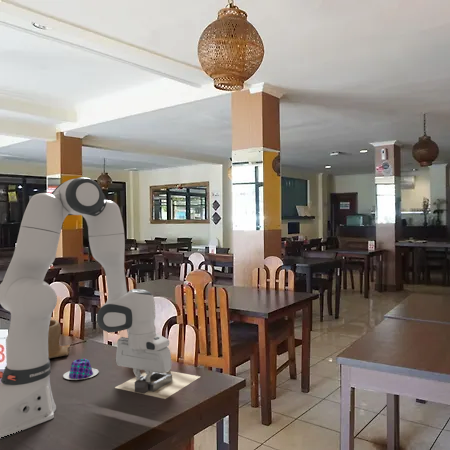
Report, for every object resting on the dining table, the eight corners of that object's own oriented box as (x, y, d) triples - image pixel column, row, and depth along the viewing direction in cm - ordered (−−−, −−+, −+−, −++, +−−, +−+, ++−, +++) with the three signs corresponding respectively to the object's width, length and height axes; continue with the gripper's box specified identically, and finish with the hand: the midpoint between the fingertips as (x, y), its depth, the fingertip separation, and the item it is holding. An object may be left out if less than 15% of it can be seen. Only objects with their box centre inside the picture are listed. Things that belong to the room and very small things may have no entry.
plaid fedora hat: (105, 371, 161) (104, 357, 161) (85, 383, 150) (85, 368, 150) (77, 368, 165) (76, 354, 165) (55, 380, 154) (55, 365, 153)
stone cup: (31, 365, 169) (30, 326, 169) (30, 356, 180) (29, 319, 180) (73, 359, 176) (71, 321, 175) (70, 351, 186) (69, 315, 186)
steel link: (153, 391, 137) (153, 384, 137) (135, 388, 140) (135, 381, 140) (172, 380, 145) (172, 374, 145) (155, 377, 149) (155, 371, 149)
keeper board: (165, 403, 131) (164, 378, 131) (114, 392, 141) (113, 368, 141) (200, 381, 149) (200, 358, 149) (153, 372, 158) (152, 351, 158)
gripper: (110, 338, 144) (112, 380, 145) (161, 346, 135) (162, 391, 135) (123, 333, 150) (125, 374, 150) (173, 340, 140) (174, 384, 140)
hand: (143, 382), depth 142 cm, fingers closed on steel link
